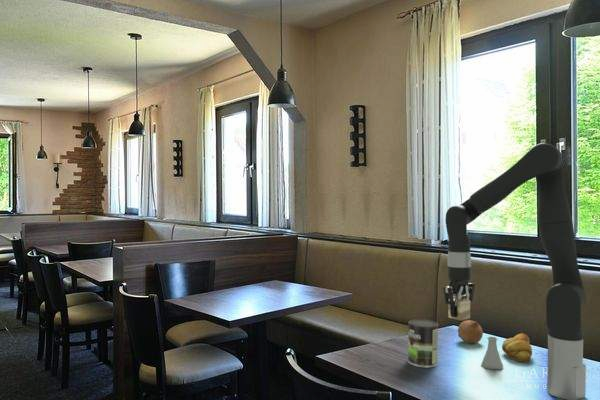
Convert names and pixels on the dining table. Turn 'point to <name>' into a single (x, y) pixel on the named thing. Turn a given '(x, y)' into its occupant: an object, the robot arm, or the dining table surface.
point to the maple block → (461, 309)
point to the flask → (492, 355)
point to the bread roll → (518, 348)
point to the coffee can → (422, 343)
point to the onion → (470, 332)
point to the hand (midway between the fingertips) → (459, 315)
